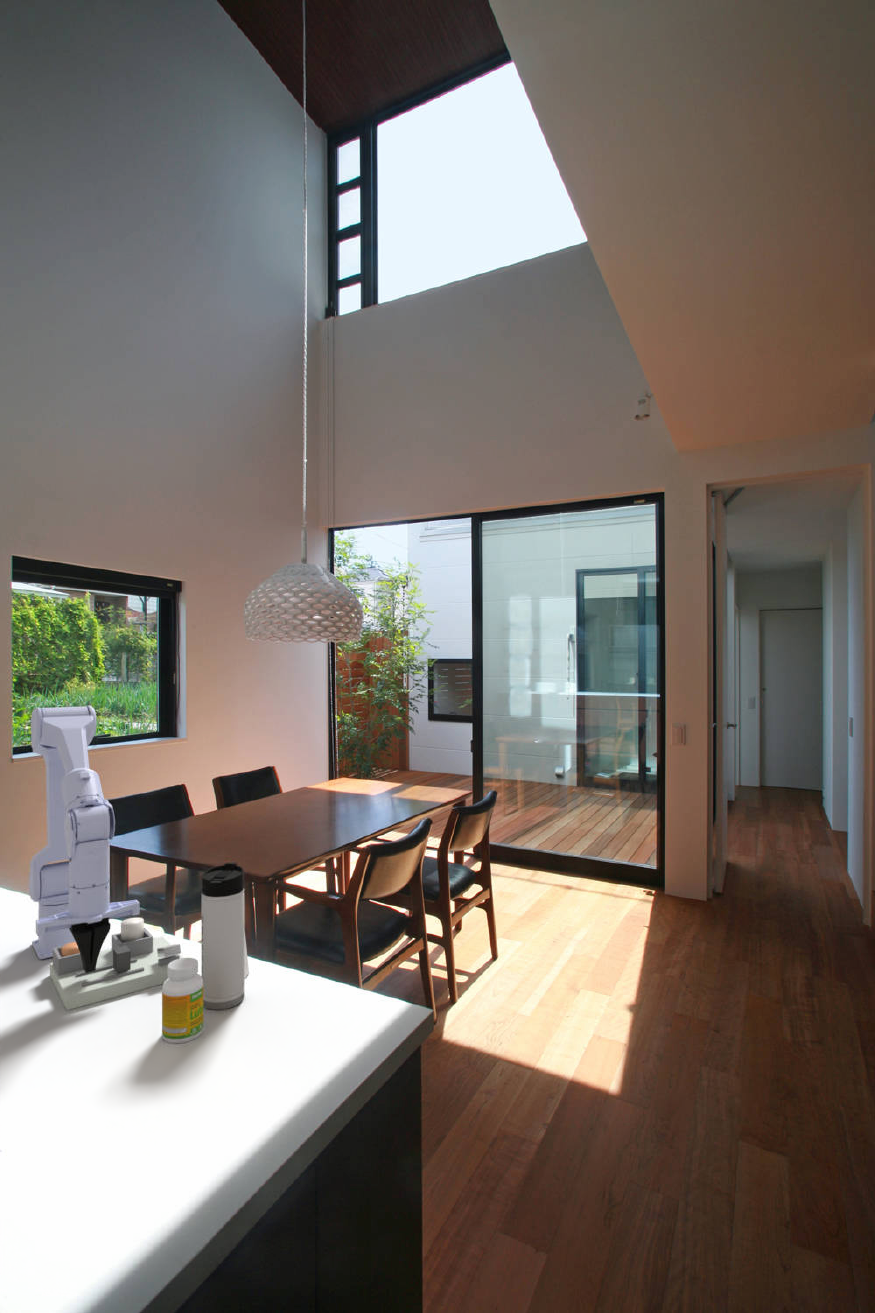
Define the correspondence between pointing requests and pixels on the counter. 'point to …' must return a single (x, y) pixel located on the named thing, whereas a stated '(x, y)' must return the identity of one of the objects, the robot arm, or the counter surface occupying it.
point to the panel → (110, 972)
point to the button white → (132, 929)
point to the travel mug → (223, 936)
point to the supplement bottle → (182, 1002)
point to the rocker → (169, 950)
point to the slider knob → (121, 959)
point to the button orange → (70, 949)
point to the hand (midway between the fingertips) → (89, 969)
